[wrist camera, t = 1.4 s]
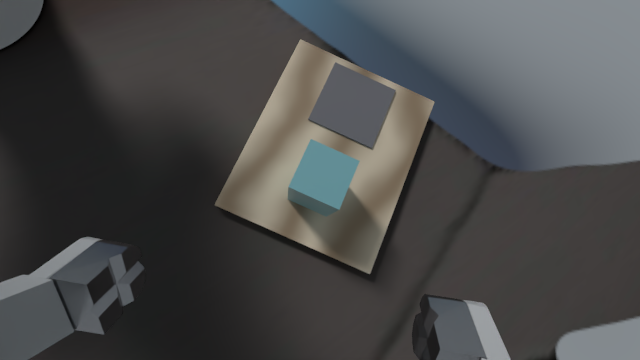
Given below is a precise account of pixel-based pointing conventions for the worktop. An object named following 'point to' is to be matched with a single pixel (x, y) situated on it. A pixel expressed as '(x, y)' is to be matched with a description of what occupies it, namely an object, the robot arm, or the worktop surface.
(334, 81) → the pad
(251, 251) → the worktop surface
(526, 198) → the worktop surface
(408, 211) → the worktop surface
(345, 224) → the post board
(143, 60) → the worktop surface
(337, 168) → the teal pillar
